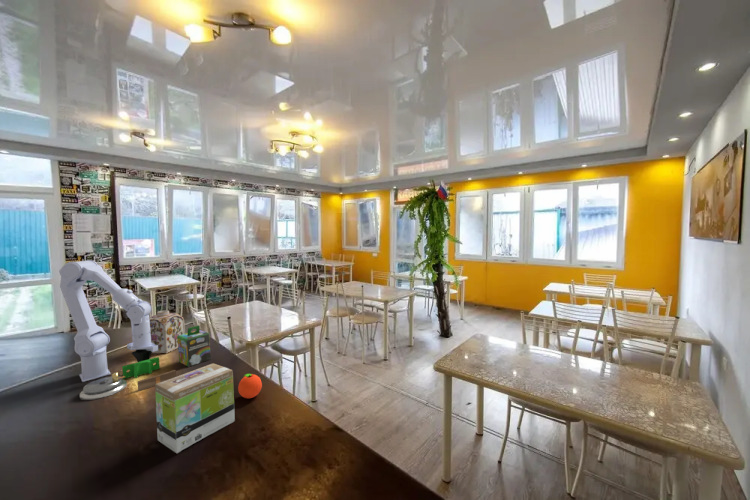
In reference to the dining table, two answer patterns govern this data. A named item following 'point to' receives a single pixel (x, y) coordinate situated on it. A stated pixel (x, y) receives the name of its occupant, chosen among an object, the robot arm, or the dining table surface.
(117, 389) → the base plate
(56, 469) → the dining table surface
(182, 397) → the tea box
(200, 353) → the chalk box
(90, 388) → the index disc
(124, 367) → the pipe clamp
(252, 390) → the clementine
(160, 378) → the bar
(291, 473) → the dining table surface
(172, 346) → the decorative jar
